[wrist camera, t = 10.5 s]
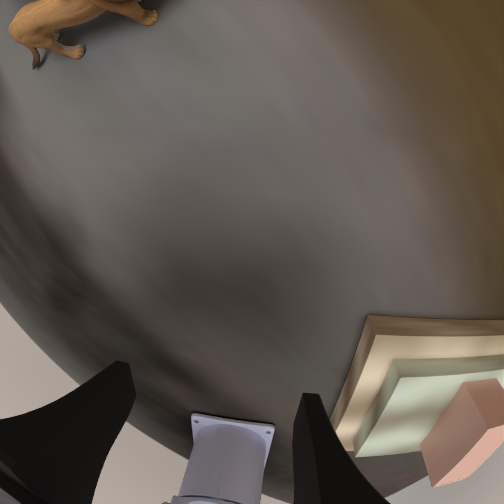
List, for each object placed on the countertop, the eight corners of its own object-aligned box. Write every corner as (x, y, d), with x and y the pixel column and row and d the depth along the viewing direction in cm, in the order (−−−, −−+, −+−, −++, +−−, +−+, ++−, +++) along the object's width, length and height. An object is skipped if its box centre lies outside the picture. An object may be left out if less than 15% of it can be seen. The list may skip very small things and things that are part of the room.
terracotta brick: (452, 439, 19) (466, 478, 14) (419, 444, 19) (432, 487, 14) (496, 377, 16) (521, 419, 11) (463, 382, 16) (488, 429, 12)
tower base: (476, 417, 23) (489, 443, 19) (324, 431, 25) (326, 467, 21) (533, 319, 19) (556, 343, 14) (367, 314, 20) (383, 353, 16)
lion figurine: (191, -43, 12) (144, -114, 4) (209, 4, 14) (159, -71, 6) (35, 47, 15) (-42, 34, 7) (41, 96, 17) (-45, 95, 8)
